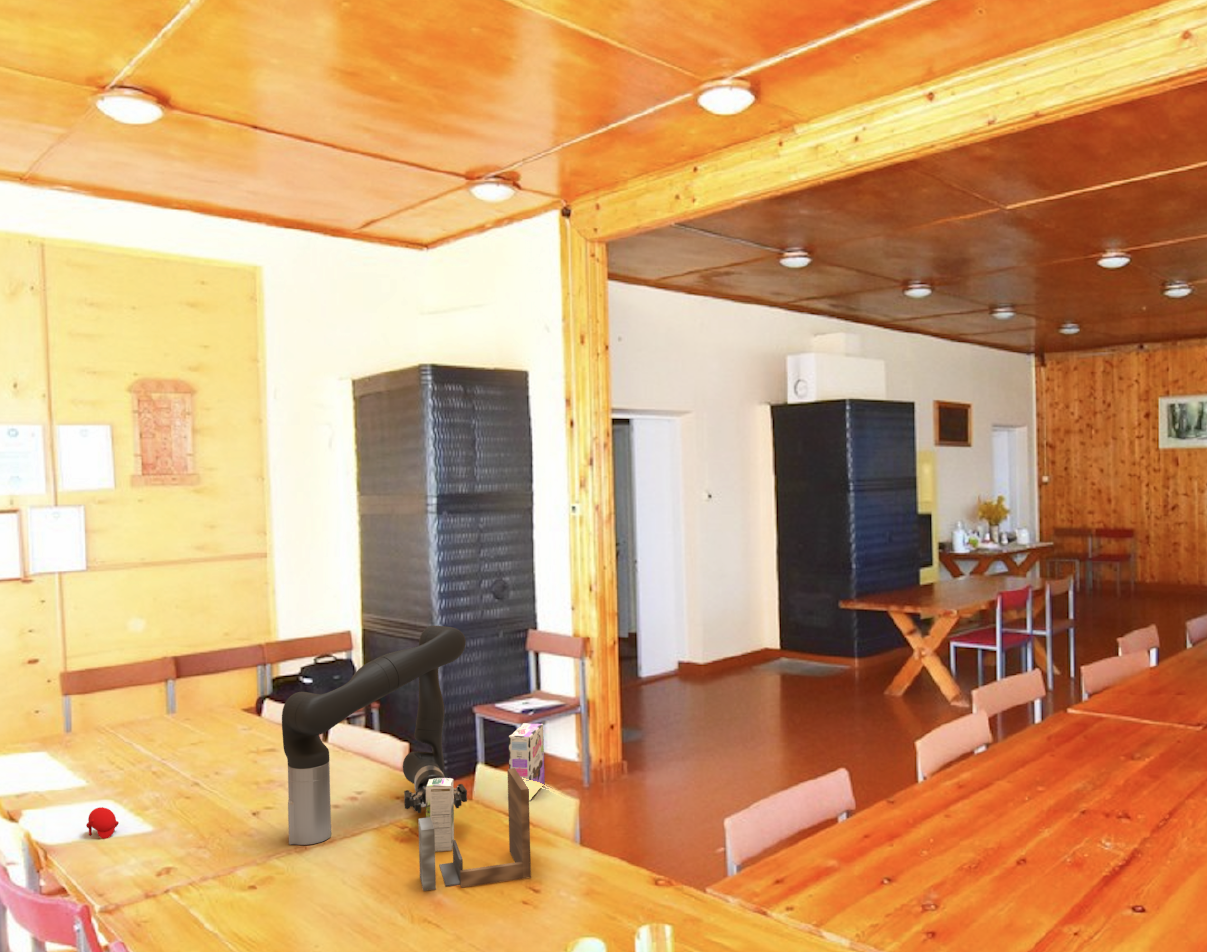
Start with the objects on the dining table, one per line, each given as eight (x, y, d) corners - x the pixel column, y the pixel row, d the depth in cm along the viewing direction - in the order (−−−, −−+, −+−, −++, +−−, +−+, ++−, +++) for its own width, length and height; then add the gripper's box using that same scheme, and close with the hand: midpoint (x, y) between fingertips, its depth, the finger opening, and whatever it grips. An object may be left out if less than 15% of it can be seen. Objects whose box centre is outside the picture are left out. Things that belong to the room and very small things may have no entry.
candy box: (531, 801, 238) (529, 736, 238) (509, 800, 239) (507, 735, 239) (545, 784, 251) (544, 722, 251) (524, 783, 252) (522, 722, 253)
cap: (79, 820, 223) (81, 813, 219) (104, 805, 227) (107, 798, 223) (96, 848, 221) (99, 842, 217) (121, 833, 226) (124, 826, 221)
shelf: (423, 893, 185) (421, 801, 185) (416, 864, 200) (414, 779, 200) (530, 877, 191) (528, 788, 191) (516, 850, 206) (514, 768, 206)
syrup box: (428, 842, 212) (427, 778, 212) (455, 841, 212) (453, 777, 212) (426, 852, 206) (424, 786, 206) (453, 851, 206) (451, 785, 206)
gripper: (400, 772, 225) (406, 793, 210) (459, 766, 229) (469, 786, 214) (401, 804, 225) (407, 827, 210) (460, 796, 229) (470, 819, 214)
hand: (438, 806), depth 212 cm, fingers open, 8 cm apart
